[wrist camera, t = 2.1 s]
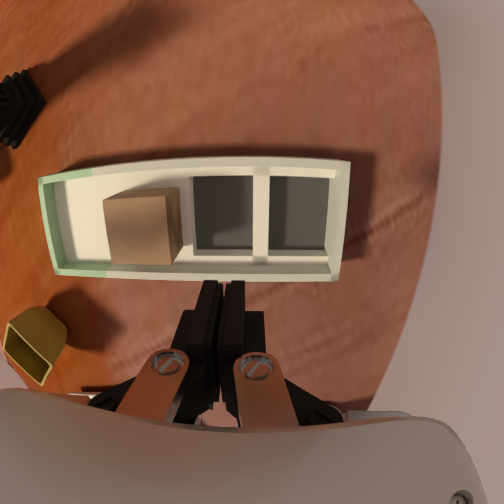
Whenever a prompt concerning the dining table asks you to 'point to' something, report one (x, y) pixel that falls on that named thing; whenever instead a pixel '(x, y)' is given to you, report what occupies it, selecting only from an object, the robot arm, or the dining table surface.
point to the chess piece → (18, 107)
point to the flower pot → (35, 341)
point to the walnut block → (144, 226)
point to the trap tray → (209, 217)
